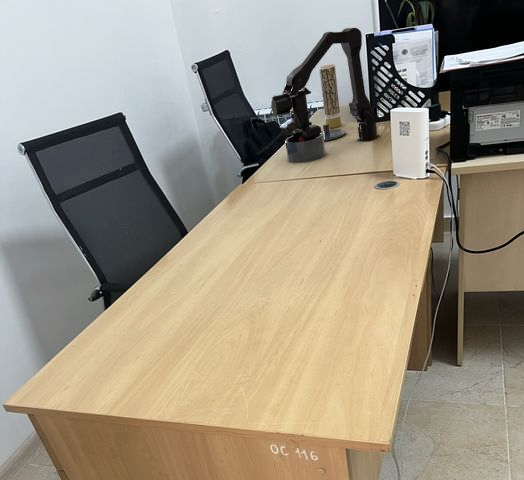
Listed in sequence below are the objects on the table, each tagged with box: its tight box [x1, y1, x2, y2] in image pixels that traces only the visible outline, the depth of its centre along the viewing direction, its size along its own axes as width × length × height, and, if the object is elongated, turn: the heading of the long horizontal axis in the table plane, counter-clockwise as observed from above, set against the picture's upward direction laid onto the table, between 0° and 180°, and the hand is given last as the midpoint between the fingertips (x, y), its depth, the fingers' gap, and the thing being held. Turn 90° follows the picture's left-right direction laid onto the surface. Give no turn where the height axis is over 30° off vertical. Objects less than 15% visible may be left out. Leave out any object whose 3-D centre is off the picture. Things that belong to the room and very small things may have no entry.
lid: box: [321, 123, 347, 142], centre depth 231 cm, size 16×16×5 cm
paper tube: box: [318, 63, 342, 129], centre depth 240 cm, size 7×7×25 cm
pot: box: [284, 133, 326, 164], centre depth 210 cm, size 15×15×8 cm
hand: (306, 151), depth 211 cm, fingers closed on cylinder, 4 cm apart
